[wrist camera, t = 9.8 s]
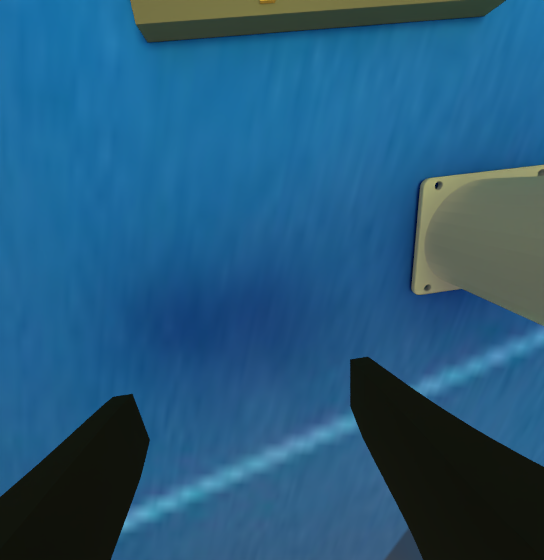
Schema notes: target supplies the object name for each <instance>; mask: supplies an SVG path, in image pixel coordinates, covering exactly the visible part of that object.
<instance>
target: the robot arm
mask: <svg viewBox="0 0 544 560" xmlns="http://www.w3.org/2000/svg"><path fill="white" fill-rule="evenodd" d="M538 172H539V174H538ZM437 182H438V188H437V189H435V184H436V183H437ZM426 285H427V287H426V288H425V289H424V287H425V286H426ZM411 289H412V291H413V292H414V293H415V294H417V295H422V294H429V293H436V292H443V291H450V290H457V289H464V290H466V291H468V292H470V293H472V294H475V295H477V296H479V297H481V298H483V299H486V300H488V301H490V302H492V303H494V304H497V305H499V306H501V307H503V308H505V309H507V310H510V311H512V312H514V313H516V314H518V315H521V316H523V317H525V318H527V319H529V320H532V321H534V322H536V323H538V324H540V325H543V326H544V165H538V166H529V167H520V168H512V169H503V170H495V171H486V172H477V173H469V174H460V175H452V176H443V177H435V178H428V179H425V180H424V181H423V182H422V183H421V186H420V195H419V207H418V218H417V229H416V241H415V252H414V264H413V275H412V287H411ZM350 406H351V409H352V411H353V414H354V417H355V419H356V422H357V425H358V427H359V430H360V432H361V435H362V437H363V439H364V441H365V443H366V445H367V447H368V449H369V451H370V453H371V455H372V457H373V459H374V461H375V463H376V465H377V467H378V468H379V470H380V472H381V474H382V476H383V478H384V480H385V482H386V484H387V486H388V488H389V490H390V492H391V494H392V495H393V497H394V499H395V501H396V503H397V505H398V507H399V509H400V511H401V513H402V515H403V517H404V519H405V521H406V523H407V525H408V527H409V529H410V531H411V533H412V535H413V537H414V540H415V542H416V544H417V546H418V549H419V551H420V553H421V556H422V558H423V560H544V467H543V466H541V465H539V464H537V463H535V462H533V461H531V460H530V459H528V458H526V457H524V456H522V455H520V454H519V453H517V452H515V451H513V450H511V449H510V448H508V447H506V446H504V445H502V444H501V443H499V442H497V441H495V440H493V439H492V438H490V437H488V436H486V435H485V434H483V433H481V432H480V431H478V430H476V429H475V428H473V427H471V426H470V425H468V424H466V423H465V422H463V421H462V420H460V419H458V418H457V417H455V416H453V415H452V414H450V413H449V412H447V411H446V410H444V409H442V408H441V407H439V406H438V405H436V404H435V403H433V402H432V401H430V400H429V399H427V398H426V397H424V396H423V395H421V394H420V393H418V392H417V391H415V390H414V389H413V388H411V387H410V386H408V385H407V384H405V383H404V382H403V381H401V380H400V379H398V378H397V377H396V376H394V375H393V374H391V373H390V372H389V371H387V370H386V369H384V368H383V367H382V366H380V365H379V364H378V363H376V362H375V361H373V360H372V359H370V358H369V357H363V358H357V359H350ZM149 441H150V439H149V437H148V434H147V431H146V429H145V426H144V423H143V421H142V418H141V415H140V413H139V410H138V407H137V405H136V402H135V399H134V397H133V394H129V395H122V396H116V397H112V398H111V399H110V400H109V401H108V402H106V403H105V404H104V405H103V406H102V407H101V408H99V409H98V410H97V411H96V412H95V413H94V414H93V415H92V416H91V417H89V418H88V419H87V420H86V421H85V422H84V423H83V424H82V425H81V426H80V427H79V428H77V429H76V430H75V431H74V432H73V433H72V434H71V435H70V436H69V437H68V438H67V439H65V440H64V441H63V442H62V443H61V444H60V445H59V446H58V447H57V448H56V449H54V450H53V451H52V452H51V453H50V454H49V455H48V456H47V457H46V458H44V459H43V460H42V461H41V462H40V463H39V464H38V465H37V466H36V467H34V468H33V469H32V470H31V471H30V472H29V473H27V474H26V475H25V476H24V477H23V478H22V479H21V480H19V481H18V482H17V483H16V484H15V485H14V486H12V487H11V488H10V489H9V490H8V491H7V492H5V493H4V494H3V495H2V496H1V497H0V560H111V557H112V554H113V552H114V549H115V546H116V544H117V541H118V538H119V535H120V533H121V530H122V527H123V525H124V522H125V519H126V516H127V514H128V511H129V508H130V505H131V503H132V500H133V497H134V494H135V492H136V489H137V486H138V483H139V480H140V477H141V474H142V470H143V466H144V462H145V458H146V454H147V450H148V445H149Z"/></svg>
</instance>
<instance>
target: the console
mask: <svg viewBox="0 0 544 560" xmlns="http://www.w3.org/2000/svg"><path fill="white" fill-rule="evenodd" d="M130 1H131V5H132V10H133V14H134V18H135V23H136V25H137V27H138V28H139V30H140V31H141V33H142V34H143V36H144V38H145V39H146V41H147V42H159V41H172V40H185V39H198V38H211V37H223V36H236V35H249V34H262V33H275V32H287V31H300V30H313V29H326V28H339V27H351V26H364V25H377V24H390V23H403V22H416V21H428V20H441V19H454V18H467V17H480V16H485V15H486V14H488V13H489V12H491V11H492V10H493V9H495V8H496V7H498V6H499V5H500V4H502V3H503V2H504V1H506V0H130Z"/></svg>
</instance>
